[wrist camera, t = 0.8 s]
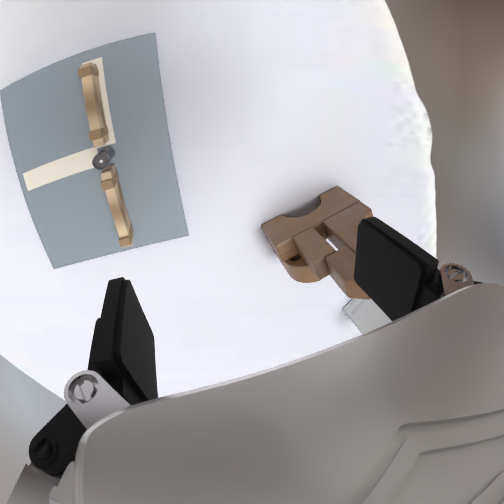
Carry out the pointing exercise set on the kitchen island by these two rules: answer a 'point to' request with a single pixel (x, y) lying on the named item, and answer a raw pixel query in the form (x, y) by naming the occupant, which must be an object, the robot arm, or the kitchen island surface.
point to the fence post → (103, 158)
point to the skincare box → (366, 314)
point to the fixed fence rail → (93, 104)
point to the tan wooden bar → (117, 205)
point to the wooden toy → (321, 241)
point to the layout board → (94, 152)
